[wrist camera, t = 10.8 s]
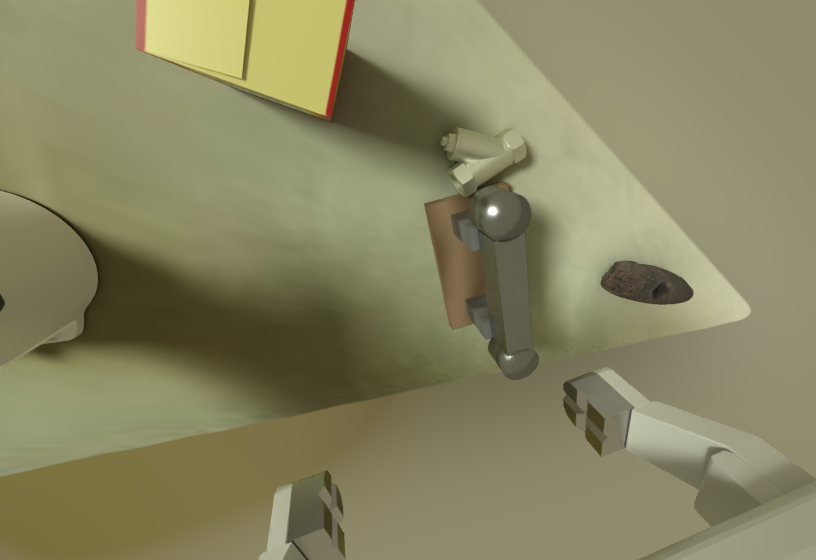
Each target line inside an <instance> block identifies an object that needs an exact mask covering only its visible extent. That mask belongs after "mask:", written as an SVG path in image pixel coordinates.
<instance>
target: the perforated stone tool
mask: <svg viewBox="0 0 816 560" xmlns="http://www.w3.org/2000/svg"><path fill="white" fill-rule="evenodd" d="M601 285H602V287H603V288H604V289H605V290H607V291H608V292H610V293H612V294H614V295H616V296H619V297H622V298H626V299H629V300H633V301H638V302H643V303H650V304H660V305H663V304H665V305H666V304H677V303H682V302H686V301H688V300H689V299H691V298H692V296H693V290H692V288H691V287H690V286H689V285H688V283H687V282H686V281H685V280H684V279H683V278H681V277H679V276H677V275H676V274H674V273H672V272H669V271H667V270H664V269H661V268H658V267H655V266H650V265H643V264H637V263H636V262H631V261H622V262H616V263H614V265H613V266H612V267H611V268H610V269H609V271H608V272H607V273H605V275H604V276H603V277H602V280H601Z"/></svg>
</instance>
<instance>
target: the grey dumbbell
mask: <svg viewBox="0 0 816 560" xmlns="http://www.w3.org/2000/svg"><path fill="white" fill-rule="evenodd" d="M468 217H469V220H470V222H471V223H472V224H473V225H474V226H475V227H476V228H478V230H477V233H478V240H479V247H480V254H481V262H482V269H483V276H484V283H485V290H486V298H487V305H488V312H489V319H490V326H491V334H492V338H491V340H490V342H489V345H488V351H489V353H490V354H491V356H492V357H493V359H494V360H495V362H496V363H497V365H498V366H499V367H500V369H501V370H502V372H503V373H504V374H505V376H506V377H507V378H509V379H512V380H519V379H522V378H525V377H526V376H528V375H530V374H531V373H532V372H533V371H534V370H535V369H536V367H537V365H538V363H539V356H538V354H537V353H536V351H535V350H534V349H533V348H532V333H531V318H530V302H529V287H528V271H527V256H526V241H525V232H524V231H525V230H526V228H527V226H528V224H529V222H530V218H531V208H530V205H529V203H528V201H527V200H526V199H525V198H524V197H523V196H521V195H519V194H516V193H513V192H511V191H508V190H505V189H502V188H500V187H496V186H487V187H484V188H482V189H480V190H479V191H478V192H476V193H475V194H474V196H473V197H472V199H471V201H470V203H469V206H468Z"/></svg>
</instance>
